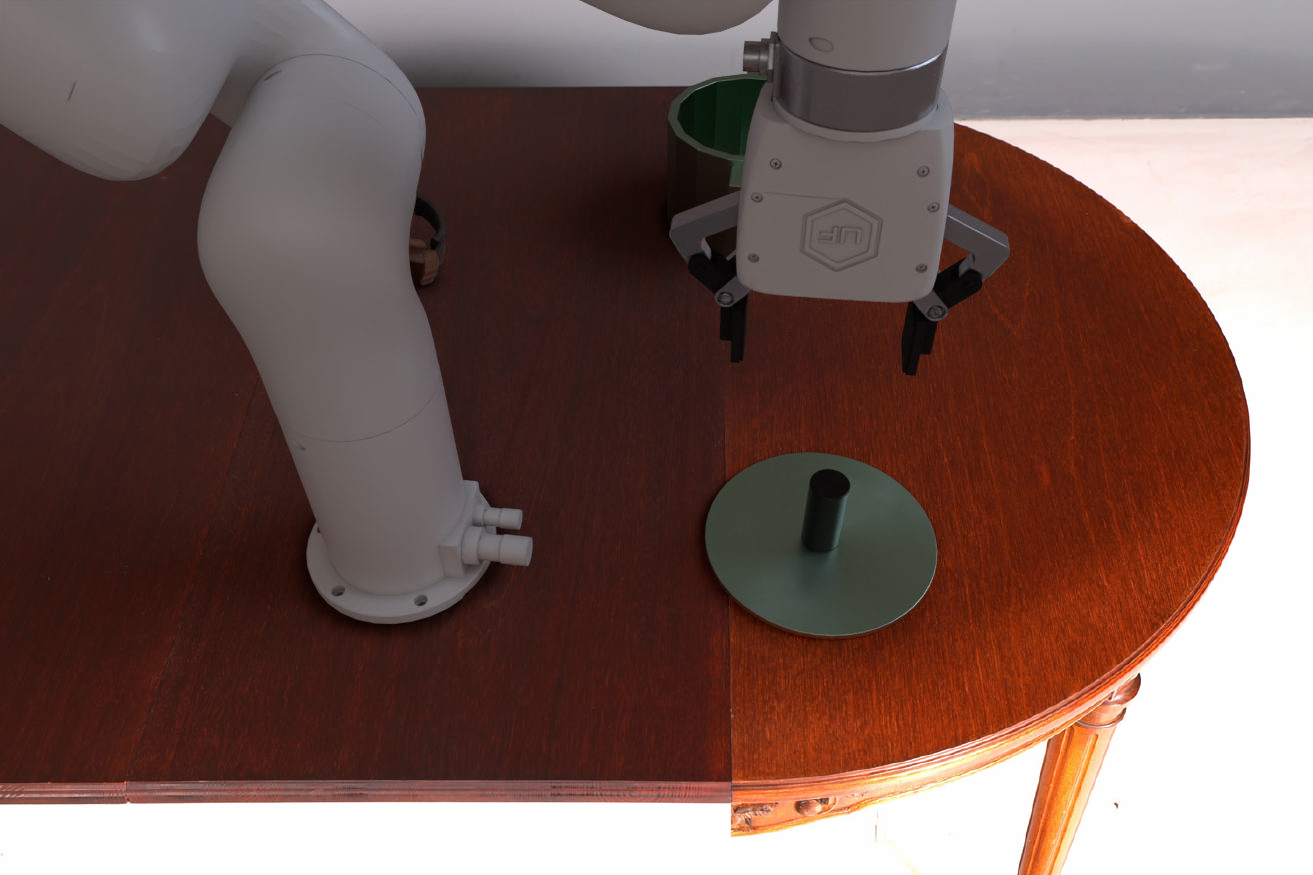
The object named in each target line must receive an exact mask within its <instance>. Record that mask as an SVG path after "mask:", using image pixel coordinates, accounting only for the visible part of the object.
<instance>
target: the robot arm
mask: <svg viewBox="0 0 1313 875" xmlns="http://www.w3.org/2000/svg"><path fill="white" fill-rule="evenodd" d="M579 1H580V2H582V3H584V4H587V5H589V6H591V7H593V8H595V9H597V10H599V11H601V12H603V13H605V14H608V15H611V16H613V17H615V18H618V19H619V20H620V19H621V20H623V21H625V22H628V23H631V24H634V25H637V26H640V27H642V28H646V29H648V30H654V31H659V32H662V33H668V34H673V35H682V36H683V35H687V36H692V35H693V36H705V35H709V34H716V33H721V32H725V31H727V30H729V29H732V28H735V27H738V26H741V25H742V24H744V23H746V22H747V21H749V20H750V19H752V18H754V17H755V16H757V15H758V14H760V13H761V12H762V11H764V9H765V8H767V7H768V6H769V5H770V4H771V3H772V2H773V1H774V0H579ZM957 2H958V0H778V5H777V21H776V28H777V29H776V31H774V30H772V31H770V35H769V38H768V37H767V38H765V37H761V39H760V40H744V43H743V54H742V73H743V72H746V73H747V72H759V75H766V76H767V82H766V83H765V84H764V86H763V87H762V89H761V91H760V94H759V98H758V100H757V103H756V106H755V109H754V113H753V117H752V120H751V124H750V129H749V133H748V139H747V145H746V152H745V158H744V163H743V172H742V182H741V190H739V191H736V192H734V193H731V194H728V195H726V196H723V197H721V198H718V199H715V200H713V201H710V202H707V203H705V204H702V205H700V206H697V207H694V208H692V209H689V210H687V211H684V212H681V213H679V214H676V215H675V216H674V217H673V218H672V222H671V227H670V226H669V234H668V235H669V238H670V240H671V241H672V243H673V245H674V246H675V248H676V249H677V251H678V253H679V254H680V256H681V258H682V259H683V260H684V261H685V262H686V265H687V270H688V272H689V274H691V275H692V276H693V277H694V278H695V279H696V280H697V281H698V282H700V283H701V284H702V285H703V286H704V287H705V288H707V289H708V290H709V291H710V292H711V293H712V294H713V295H714V302H715V303H716V305H718V306H719V307H720V310H719V312H720V313H719V314H720V315H719V341H724V342H725V341H727V342H730V358H729V360H730V361H729V362H730V363H732V364H733V363H734V364H740V362H743V361H744V358H745V357H744V356H745V349H746V348H745V345H746V337H747V327H748V310H749V309H748V308H749V293H750V292H751V291H753V292H756V293H760V294H765V295H770V296H771V295H772V296H782V297H784V296H785V297H798V298H810V299H826V300H839V301H840V300H841V301H857V302H872V303H873V302H875V303H893V304H894V303H895V304H896V303H897V304H899V303H908V304H907V307H906V313H905V316H904V317H905V318H904V322H903V326H902V327H903V328H902V333H901V339H900V347H901V348H900V349H901V351H900V352H901V371H902V373H903V374H905V376H911V377H912V376H914V377H915V376H916V375H917V371H918V367H919V362H920V357H921V355H923V356H924V355H926V356H930V355H931V354H932V351H933V346H934V341H935V337H936V333H937V329H938V324H939V322H941V321H943V320H944V319H945V318H947V316H948V315H949V310H950V309H952V308H953V307H955V306H956V305H958V304H959V303H962V302H963V301H965V300H967V299H968V298H970V297H972V296H973V295H975V294H977V293H978V292H980V291H981V289H982V288H983V283H984V282H985V281H986V280H987V279H988V278H991V276H992V275H993V274H995V272H996V271H997V270H998V269H1000V267H1001V266H1002V265H1003V264H1004V263H1005V262H1006V261H1007V260H1008V259H1009V257H1010V256H1011V248H1010V247H1011V246H1010V241H1009V237H1008V235H1007V234H1006V233H1005V232H1004V231H1001V230H999V229H998V228H996V227H994V226H991V225H990V224H989V223H986V222H985V221H982V220H981V219H979V218H977V217H975V216H973V215H971V214H970V213H967V212H965V211H964V210H962V209H960V208H958V207H957V206H955V205H953V204H951V203H950V202H949V201H950V196H951V195H950V194H951V187H952V178H953V177H952V176H953V167H954V166H953V165H954V151H955V150H954V149H955V145H954V144H955V120H954V118H955V117H954V110H953V106H952V105H951V100H950V98H949V96H948V94H947V93H946V91H945V90H944V89H943V87H941V86H942V81H943V76H944V70H945V66H946V60H947V55H948V49H949V44H950V39H951V33H952V28H953V23H954V18H955V12H956V7H957ZM209 114H210V115H212V116H213V117H215V118H216V119H218V120H219V121H221V122H222V123H223V124H225V125H226V126H227V127H229V128H231V129H230V131H229V132H228V135H227V138H226V140H225V142H224V144H223V147H222V148H221V151H220V153H219V155H218V157H217V159H216V162H215V164H214V165H213V168H212V170H211V172H210V175H209V178H208V181H207V183H206V186H205V189H204V192H203V196H202V198H201V203H200V208H199V214H198V220H197V229H196V242H197V243H196V244H197V253H198V259H199V263H200V267H201V270H202V273H203V275H204V278H205V280H206V283H207V284H208V286H209V288H210V290H211V292H212V294H213V295H214V297H215V298H216V300H217V302H218V303H219V305H220V306H221V307H222V309H223V311H224V312H225V314H226V315H227V316H228V318H229V319H230V321H231V322H232V323H233V325H234V327H235V329H236V330H237V332H238V333H239V335H240V337H241V338H242V340H243V342H244V344H245V346H246V347H247V350H248V351H249V353H250V356H251V359H252V360H253V362H254V365H255V367H256V369H257V371H258V374H259V376H260V378H261V381H262V384H263V386H264V389H265V391H266V393H267V396H268V398H269V401H270V405H271V407H272V409H273V412H274V414H275V416H276V418H277V421H278V423H279V426H280V429H281V431H282V434H283V436H284V440H285V442H286V444H287V447H288V450H289V453H290V455H291V458H292V460H293V463H294V466H295V468H296V470H297V471H296V472H297V473H298V474H297V475H298V476H299V480H300V482H301V484H302V487H303V490H304V492H305V494H306V497H307V500H308V503H309V505H310V508H311V511H312V514H313V516H314V518H315V523H314V524H313V527H312V529H311V532H310V534H309V536H308V540H307V546H306V552H305V554H306V555H305V556H306V565H307V570H308V573H309V575H310V578H311V581H312V583H313V585H314V587H315V589H316V591H317V593H318V594H319V595H320V596H321V598H322V599H324V601H325V602H326V603H327V604H328V605H329V606H331V607H332V608H333V609H335V610H336V611H338V612H339V613H340V614H343V615H345V616H347V617H349V618H352V619H355V620H356V621H361V622H366V623H372V624H381V625H386V624H387V625H397V624H403V623H404V624H405V623H412V622H415V621H419V620H423V619H426V618H429V617H433V616H435V615H437V614H438V613H441V612H443V611H445V610H447V609H449V608H451V607H452V606H454V605H455V604H457V603H458V602H460V601H462V600H463V599H464V597H465V595H466V593H468V592H469V591H470V590H471V589H472V588H474V587H475V585H476V584H477V583H478V582H479V581H480V579H481V578H482V577H483V575H484V574H485V573H486V571H487V569H488V567H489V566H490V564H491V562H496V563H500V564H502V565H510V566H511V565H512V566H519V567H520V566H521V567H529V565H530V563H531V561H532V556H533V555H532V554H533V548H534V547H533V546H534V544H533V542H534V541H533V538H532V536H524V535H515V534H509V533H508V534H507V533H506V534H497V528H499V529H504V530H514V531H520V529H521V528H522V523H523V510H522V509H519V508H508V507H501V508H499V507H491V505H490V504H489V502H488V501H487V500H486V498H485V496H484V495H483V494H482V493H481V490H480V485H479V482H478V481H476V480H468V479H464V478H463V473H462V470H461V464H460V459H459V454H458V449H457V444H456V440H455V435H454V434H455V433H454V429H453V425H452V420H451V416H450V410H449V406H448V401H447V397H446V396H447V395H446V391H445V386H444V381H443V377H442V372H441V367H440V363H439V360H438V355H437V351H436V345H435V341H434V336H433V334H432V329H431V325H430V322H429V320H428V316H427V313H426V310H425V308H424V305H423V304H422V300H421V299H420V296H419V295H418V292H417V291H416V288H415V285H414V282H413V277H412V271H411V263H410V262H411V261H409V237H410V235H411V234H410V233H411V227H412V220H413V214H414V212H415V211H414V206H415V201H416V192H417V190H418V186H419V180H420V175H421V172H422V171H421V170H422V166H423V160H424V156H425V149H426V140H427V128H426V127H427V125H426V118H425V114H424V109H423V105H422V103H421V100H420V98H419V96H418V94H417V91H416V90H415V88H414V86H413V85H412V83H411V82H410V80H409V78H408V77H407V76H406V74H405V73H404V72H403V70H401V68H400V67H399V66H398V65H397V64H396V63H395V61H394V60H392V58H391V57H389V55H387V53H386V52H384V50H382V49H381V48H380V47H379V46H378V44H376V43H374V41H372V39H370V38H369V37H368V36H367V35H365V34H364V33H363V32H362V31H361V30H360V29H358V28H357V27H356V26H355V25H353V24H352V23H351V22H350V21H349V20H348V19H347V18H346V17H344V16H343V15H342V14H341V13H340V12H338V11H337V10H336V9H334V7H333V6H331V5H330V4H329V3H328V2H327V1H325V0H0V125H2V126H3V127H4V128H6V129H7V130H9V131H11V132H13V133H14V134H16V135H17V136H19V137H21V138H22V139H24V140H25V141H27V142H29V143H30V144H31V145H34V146H35V147H37V148H38V149H40V150H41V151H43V152H44V153H46V154H48V155H50V156H52V157H53V158H55V159H57V160H58V161H60V162H62V163H63V164H66V165H67V166H70V167H72V168H73V169H75V170H78V171H80V172H83V173H85V174H88V175H91V176H92V177H93V176H94V177H96V178H98V179H102V180H108V181H113V182H133V181H134V182H136V181H140V180H144V179H148V178H151V177H153V176H156V175H157V174H160V173H161V172H163V171H164V170H166V169H167V168H168V167H169V166H170V165H173V163H175V162H176V161H177V160H178V159H179V158H180V157H181V156H182V155H183V154H184V152H185V151H186V150H187V149H188V147H189V146H190V144H191V143H192V141H193V140H194V139H195V137H196V135H197V133H198V131H199V130H200V128H201V127H202V125H203V124H204V122H205V121H206V119H207V117H208V115H209ZM735 226H737V241H736V250H734V251H733V252H732V253H731V254H730V255H729V256H728V257H726V258H725V257H724V256H723V255H722V254H721V253H719V252H718V251H717V250H716V249H715V248H714V247H713V246H712V245H711V244H709V243H708V242H706V240H705V237H708V236H710V235H713V234H716V233H719V232H721V231H724V230H727V229H730V228H732V227H735ZM944 240H945V241H946V242H949V243H951V244H953V245H954V246H956V247H958V248H960V249H962V250H963V251H966V252H968V254H967V257H963V258H961V259H959V260H958V261H957V262H955V263H952V265H950V266H948V267H947V268H945V269H944V270H940V269H939V266H940V260H941V254H942V249H943V243H944Z"/></svg>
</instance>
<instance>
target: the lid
mask: <svg viewBox="0 0 1313 875" xmlns="http://www.w3.org/2000/svg"><path fill="white" fill-rule="evenodd" d="M704 528H705V529H704V546H705V554H706V557H707V560H708V564H709V566H710V569H711V571H712V573H713V575H714V578H716V581H717V582H718V583H719V585H720V586H721V588H722V589H723V590H724V592H725V593H726V594H727V595H728V596H729V598H730V599H731V600H732V601H733V602H735V603H736V605H738V607H740V608H741V609H742V610H743V611H745V612H746V613H748V614H749V615H751V616H752V617H754V618H755V619H757V620H758V621H760V622H762V623H764V624H766V625H768V626H770V627H771V628H774V629H777V630H780V631H782V632H784V633H787V634H791V635H795V636H798V637H799V636H800V637H803V638H809V639H815V640H829V641H830V640H831V641H832V640H833V641H834V640H849V639H855V638H862V637H865V636H869V635H872V634H876V633H879V632H882V631H883V630H886V629H888V628H890V627H892V626H894V625H895V624H897V623H899V622H901V621H902V620H904V619H905V618H906V617H908V615H910V614H911V613H912V612H913V611H914V610H915V609H916V608H917V607H918V606H919V604H920V603H921V602H922V600H924V598H925V596H926V595H927V593H928V591H929V590H930V588H931V585H932V582H933V580H934V577H935V574H936V569H937V565H938V545H937V538H936V535H935V531H934V528H933V525H932V523H931V521H930V518H929V517H928V515H927V513H926V511H925V510H924V508H923V507H922V505H921V504H920V502H919V501H918V500H917V498H915V496H914V495H913V494H912V493H911V492H910V491H909V490H908V489H906V488H905V487H904V486H903V485H902V483H900V482H899V481H897V480H895V479H894V478H893V477H892V476H890V475H889V474H887V473H885V472H883V471H882V470H880V469H878V468H876V467H874V466H872V465H870V464H868V463H866V462H863V461H860V460H857V459H854V458H851V457H847V456H843V455H839V454H833V453H827V452H814V451H813V452H812V451H811V452H809V451H808V452H792V453H786V454H785V453H784V454H780V455H776V456H772V457H768V458H766V459H763V460H760V461H757V462H755V463H754V464H752V465H750V466H747V467H746V468H744V469H742V470H741V471H739V472H738V473H737V474H735V475H734V476H733V477H732V478H731V479H730V480H729V481H727V482H726V483H725V485H724V486H723V487H722V488H720V490H719V492H718V493H717V494H716V496H715V498H714V499H713V500H712V503H711V506H710V508H709V511H708V513H707V516H706V522H705V527H704Z"/></svg>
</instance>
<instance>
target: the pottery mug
mask: <svg viewBox="0 0 1313 875" xmlns="http://www.w3.org/2000/svg"><path fill="white" fill-rule="evenodd" d="M413 212H414V215H415V216H417V217H421V218H423V219H424V220H426V221H427V222H428V223H429V224H430V226H431V227H432V229H433V230H434V231H435V234H434V235H433V236H432V237H431V238H430V242H429V247H430V248H427V245H426V242H425V241H424V239H419V238H413V237H410V236H409V262H411V263H415V264H421V269H422V270H421V274H420V277H419V280H418V282H419V284H420V285H421V286H426V285H430V284H431V283H433V282H434V281H435V278H436V277H437V276H438V272H439V269H441V268H442V267H443V265H444V262H445V258H446V257H445V256H446V250H447V248H446V247H447V245H446V240H445V239H446V236H447V233H448V225H447V221H446V220H445V217H444V215H443V213H442V212H441V211H440V210H439V208H438V207H437V205H436V204H435V203H434V202H432V200H431V199H429V198H428V197H426V195H424V194H422V193H420V192H418V191H416V201H415V206H414V211H413Z"/></svg>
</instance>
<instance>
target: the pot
mask: <svg viewBox="0 0 1313 875" xmlns="http://www.w3.org/2000/svg"><path fill="white" fill-rule="evenodd" d="M766 82H767V76H766V75H759V72H746V73H739V74H730V75H722V76H715V77H711V78H708V79H706V80H703V81H700V82H698V83H695V84H693V85H690V86H688V87H686V88H685V89H684V90H683V91H682V92H681V93H680V94H678V95H677V96H676V97H675V98H674V99H673V100H672V101H671V103H670V108H669V111H668V116H667V142H666V143H667V144H666V145H667V156H666V158H667V159H666V161H667V162H666V164H667V166H666V216H667V218H668V219H667V220H668V224H669V228H670V227H671V222H672V218H673V217H674V216H675V215H676V214H679V213H681V212H684V211H687V210H689V209H692V208H694V207H697V206H700V205H702V204H705V203H707V202H710V201H713V200H715V199H718V198H721V197H723V196H726V195H728V194H731V193H734V192H736V191H739V190H741V182H742V172H743V163H744V158H745V152H746V145H747V139H748V133H749V129H750V124H751V120H752V117H753V113H754V109H755V106H756V103H757V100H758V98H759V94H760V91H761V89H762V87H763V86H764V84H765V83H766ZM705 240H706V242H708V243H709V244H711V245H712V246H713V247H714V248H715V249H716V250H717V251H718V252H719V253H721V254H722V255H723V256H724V257H725V258H726V257H728V256H729V255H730V254H731V253H732V252H733V251H734V250H736V241H737V226H735V227H732V228H730V229H727V230H724V231H721V232H719V233H716V234H713V235H710V236H708V237H705Z"/></svg>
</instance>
